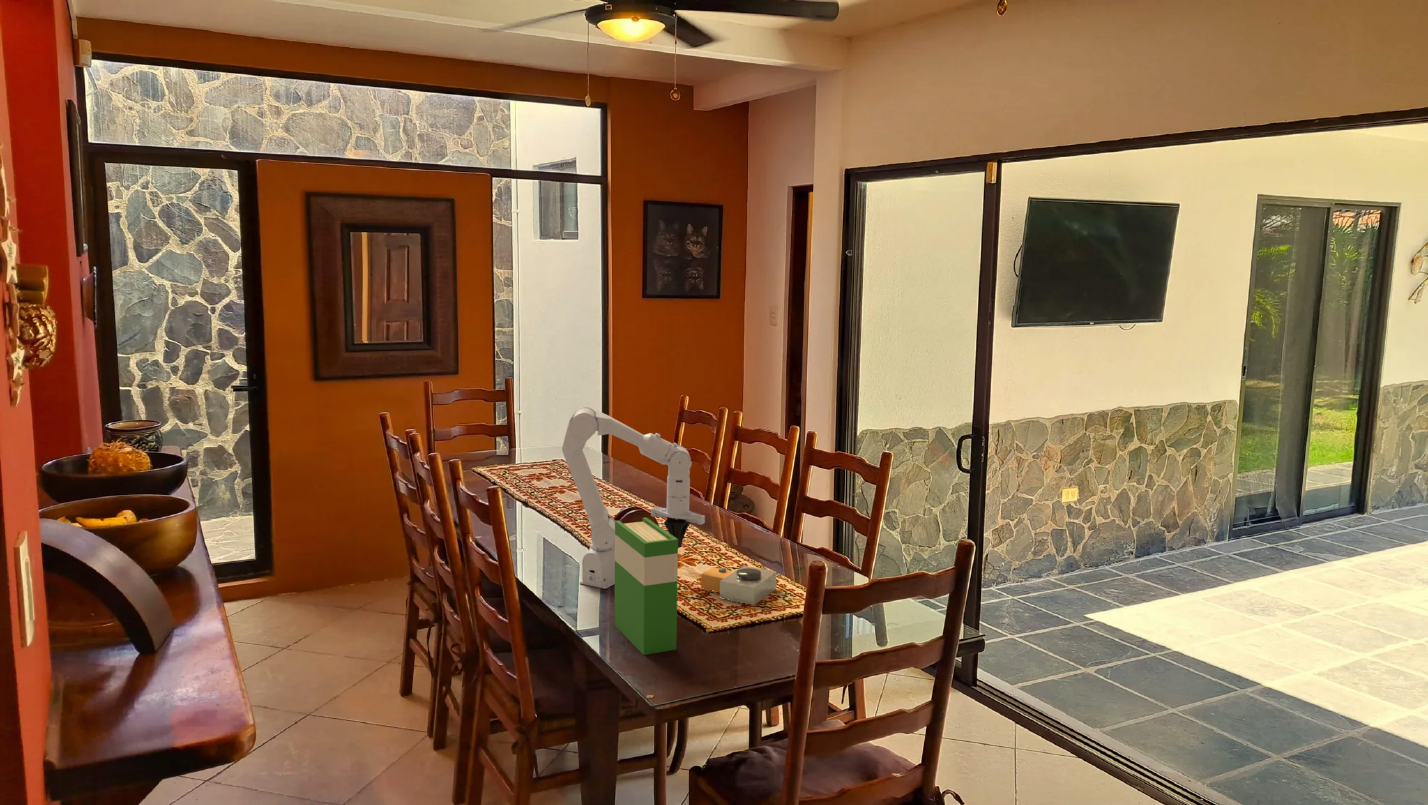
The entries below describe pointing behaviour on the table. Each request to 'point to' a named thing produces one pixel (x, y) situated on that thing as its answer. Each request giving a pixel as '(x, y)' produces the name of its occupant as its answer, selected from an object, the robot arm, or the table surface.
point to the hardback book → (646, 585)
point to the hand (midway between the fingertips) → (677, 547)
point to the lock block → (714, 578)
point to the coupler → (748, 585)
